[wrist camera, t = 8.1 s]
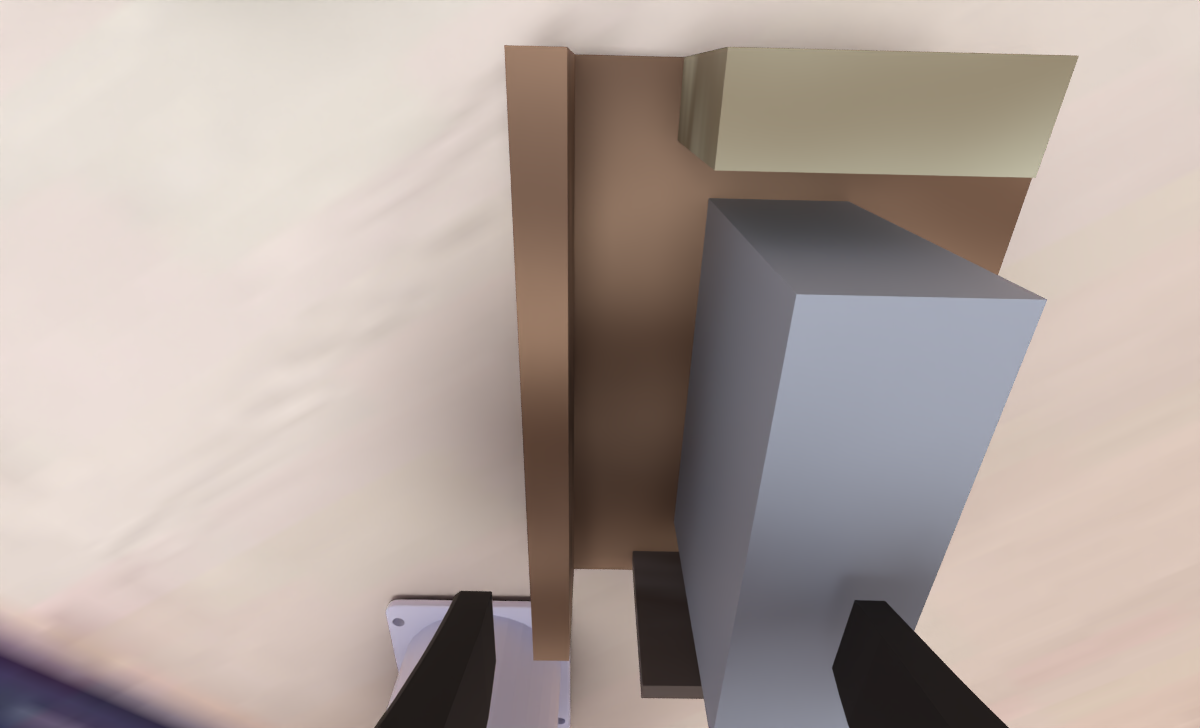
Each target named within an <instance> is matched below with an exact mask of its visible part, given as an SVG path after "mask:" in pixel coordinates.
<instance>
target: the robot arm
mask: <svg viewBox="0 0 1200 728" xmlns="http://www.w3.org/2000/svg"><path fill="white" fill-rule="evenodd" d="M386 617H387V621H388V626H389V631H390V635H391V640H392V645H393V649H394V654H395V659H396V663H397V668H398V673H399V674H398V677H397V680H396V683H395V686H394V689H393V692H392V695H391V698H390V701H389V704H388V707H387V710H386V712H385V713H384V715H383V716H382V718H381V719H380V720H379V722H378V723H377V725H376V726H375V727H374V728H570V657H569V661H533V640H532V618H531V601H492V592H483V591H460V592H459V593H457V594H456V595H455V597H454V599H453V600H402V599H398V600H393V601H391V602H390V603H389V604H388V606H387V609H386ZM832 670H833V674H834V678H835V681H836V685H837V689H838V692H839V696H840V700H841V703H842V706H843V710H844V713H845V717H846V720H847V723H848V726H849V728H1009V727H1007V726H1006V725H1005V724H1004V723H1003V722H1002V721H1001V720H1000V719H999V718H998V717H997V716H996V715H995V714H994V713H993V712H992V711H991V710H990V709H989V708H988V707H987V706H986V705H985V704H984V703H983V702H982V701H981V700H980V699H979V698H978V697H977V696H976V695H975V694H974V693H973V692H972V691H971V690H970V689H969V688H968V687H967V686H966V685H965V684H964V683H963V682H962V681H961V680H960V679H959V678H958V677H957V676H956V675H955V674H954V673H953V671H952V670H951V669H950V668H949V667H948V666H947V665H946V664H945V663H944V662H943V661H942V660H941V659H940V658H939V657H938V656H937V655H936V654H935V653H934V652H933V651H932V650H931V649H930V647H929V646H928V645H927V644H926V643H925V642H924V641H923V640H922V639H921V638H920V637H919V636H918V635H917V634H916V633H915V632H914V631H913V630H912V628H911V627H910V626H909V625H908V624H907V623H906V622H905V621H904V620H903V619H902V618H901V617H900V616H899V615H898V614H897V613H896V612H895V611H894V610H893V609H892V607H891V606H890V605H889V604H888V603H887V602H886V601H874V600H854V603H853V606H852V609H851V612H850V615H849V618H848V621H847V624H846V627H845V630H844V633H843V636H842V639H841V642H840V645H839V648H838V651H837V654H836V657H835V660H834V663H833V666H832Z"/></svg>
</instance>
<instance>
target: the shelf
mask: <svg viewBox="0 0 1200 728" xmlns="http://www.w3.org/2000/svg"><path fill="white" fill-rule="evenodd" d="M504 47H505V68H506V89H507V110H508V131H509V153H510V174H511V195H512V216H513V237H514V258H515V280H516V301H517V322H518V343H519V364H520V385H521V407H522V428H523V449H524V470H525V491H526V512H527V534H528V555H529V576H530V597H531V618H532V640H533V661H569V657H570V637H571V617H572V597H573V577H574V569H627V570H633V583H634V598H635V612H636V626H637V641H638V655H639V670H640V684H641V698H690V699H704V696H703V691H702V685H701V679H700V673H699V667H698V661H697V655H696V649H695V643H694V637H693V632H692V626H691V620H690V614H689V608H688V602H687V596H686V590H685V584H684V578H683V573H682V567H681V561H680V555H679V549H678V543H677V537H676V531H675V525H674V517H675V507H676V498H677V489H678V480H679V470H680V461H681V452H682V442H683V433H684V424H685V414H686V405H687V396H688V386H689V377H690V368H691V358H692V349H693V340H694V330H695V321H696V312H697V302H698V293H699V284H700V274H701V265H702V256H703V247H704V237H705V228H706V219H707V209H708V200H709V198H724V199H766V200H808V201H849V202H851V203H853V204H855V205H857V206H859V207H861V208H863V209H865V210H867V211H869V212H871V213H873V214H875V215H877V216H879V217H881V218H883V219H885V220H887V221H889V222H891V223H893V224H895V225H897V226H899V227H901V228H903V229H905V230H907V231H909V232H911V233H913V234H915V235H917V236H919V237H922V238H924V239H926V240H928V241H930V242H932V243H934V244H936V245H938V246H940V247H942V248H944V249H946V250H948V251H950V252H952V253H954V254H956V255H958V256H960V257H962V258H964V259H966V260H968V261H970V262H972V263H974V264H976V265H978V266H980V267H982V268H984V269H986V270H988V271H990V272H992V273H994V274H996V275H998V273H999V270H1000V268H1001V265H1002V262H1003V259H1004V256H1005V253H1006V250H1007V248H1008V245H1009V242H1010V239H1011V236H1012V233H1013V231H1014V228H1015V225H1016V222H1017V219H1018V216H1019V213H1020V211H1021V208H1022V205H1023V202H1024V199H1025V196H1026V194H1027V191H1028V188H1029V185H1030V182H1031V179H1032V178H1036V175H1037V172H1038V169H1039V167H1040V164H1041V161H1042V158H1043V155H1044V152H1045V150H1046V147H1047V144H1048V141H1049V138H1050V136H1051V133H1052V130H1053V127H1054V124H1055V121H1056V119H1057V116H1058V113H1059V110H1060V107H1061V104H1062V102H1063V99H1064V96H1065V93H1066V90H1067V88H1068V85H1069V82H1070V79H1071V76H1072V73H1073V71H1074V68H1075V65H1076V62H1077V59H1078V56H1069V55H1030V54H990V53H951V52H911V51H871V50H832V49H792V48H753V47H725V48H721V49H717V50H713V51H708V52H704V53H700V54H696V55H692V56H687V57H654V56H615V55H575V54H574V53H573V52H572V51H571V50H570V49H569V48H567V47H548V46H509V45H504Z"/></svg>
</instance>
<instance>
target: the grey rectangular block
mask: <svg viewBox="0 0 1200 728" xmlns="http://www.w3.org/2000/svg"><path fill="white" fill-rule="evenodd" d="M1046 301H1047V299H1045V298H1043V297H1041V296H1039V295H1037V294H1035V293H1033V292H1031V291H1028V290H1026V289H1024V288H1022V287H1020V286H1018V285H1016V284H1014V283H1012V282H1010V281H1008V280H1006V279H1004V278H1002V277H1000V276H998V275H996V274H994V273H992V272H990V271H988V270H986V269H984V268H982V267H980V266H978V265H976V264H974V263H972V262H970V261H968V260H966V259H964V258H962V257H960V256H958V255H956V254H954V253H952V252H950V251H948V250H946V249H944V248H942V247H940V246H938V245H936V244H934V243H932V242H930V241H928V240H926V239H924V238H922V237H919V236H917V235H915V234H913V233H911V232H909V231H907V230H905V229H903V228H901V227H899V226H897V225H895V224H893V223H891V222H889V221H887V220H885V219H883V218H881V217H879V216H877V215H875V214H873V213H871V212H869V211H867V210H865V209H863V208H861V207H859V206H857V205H855V204H853V203H851V202H849V201H808V200H766V199H724V198H709V200H708V209H707V219H706V228H705V237H704V247H703V256H702V265H701V274H700V284H699V293H698V302H697V312H696V321H695V330H694V340H693V349H692V358H691V368H690V377H689V386H688V396H687V405H686V414H685V424H684V433H683V442H682V452H681V461H680V470H679V480H678V489H677V498H676V507H675V517H674V525H675V531H676V537H677V543H678V549H679V555H680V561H681V567H682V573H683V578H684V584H685V590H686V596H687V602H688V608H689V614H690V620H691V626H692V632H693V637H694V643H695V649H696V655H697V661H698V667H699V673H700V679H701V685H702V691H703V696H704V702H705V708H706V714H707V720H708V726H709V728H849V726H848V723H847V720H846V717H845V713H844V710H843V706H842V703H841V700H840V696H839V692H838V689H837V685H836V681H835V678H834V674H833V670H832V666H833V663H834V660H835V657H836V654H837V651H838V648H839V645H840V642H841V639H842V636H843V633H844V630H845V627H846V624H847V621H848V618H849V615H850V612H851V609H852V606H853V603H854V600H874V601H886V602H887V603H888V604H889V605H890V606H891V607H892V609H893V610H894V611H895V612H896V613H897V614H898V615H899V616H900V617H901V618H902V619H903V620H904V621H905V622H906V623H907V624H908V625H909V626H910V627H911V628H912V630H913V631H914V630H915V627H916V625H917V622H918V620H919V617H920V615H921V612H922V610H923V607H924V605H925V602H926V600H927V597H928V595H929V592H930V590H931V587H932V585H933V582H934V580H935V577H936V575H937V572H938V570H939V568H940V565H941V563H942V560H943V558H944V555H945V553H946V550H947V548H948V545H949V543H950V540H951V538H952V535H953V533H954V530H955V528H956V525H957V523H958V520H959V518H960V515H961V513H962V510H963V508H964V505H965V503H966V500H967V498H968V495H969V493H970V490H971V488H972V485H973V483H974V480H975V478H976V475H977V473H978V470H979V468H980V465H981V463H982V461H983V458H984V456H985V453H986V451H987V448H988V446H989V443H990V441H991V438H992V436H993V433H994V431H995V428H996V426H997V423H998V421H999V418H1000V416H1001V413H1002V411H1003V408H1004V406H1005V403H1006V401H1007V398H1008V396H1009V393H1010V391H1011V388H1012V386H1013V383H1014V381H1015V378H1016V376H1017V373H1018V371H1019V368H1020V366H1021V363H1022V361H1023V358H1024V356H1025V354H1026V351H1027V349H1028V346H1029V344H1030V341H1031V339H1032V336H1033V334H1034V331H1035V329H1036V326H1037V324H1038V321H1039V319H1040V316H1041V314H1042V311H1043V309H1044V306H1045V304H1046Z"/></svg>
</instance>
